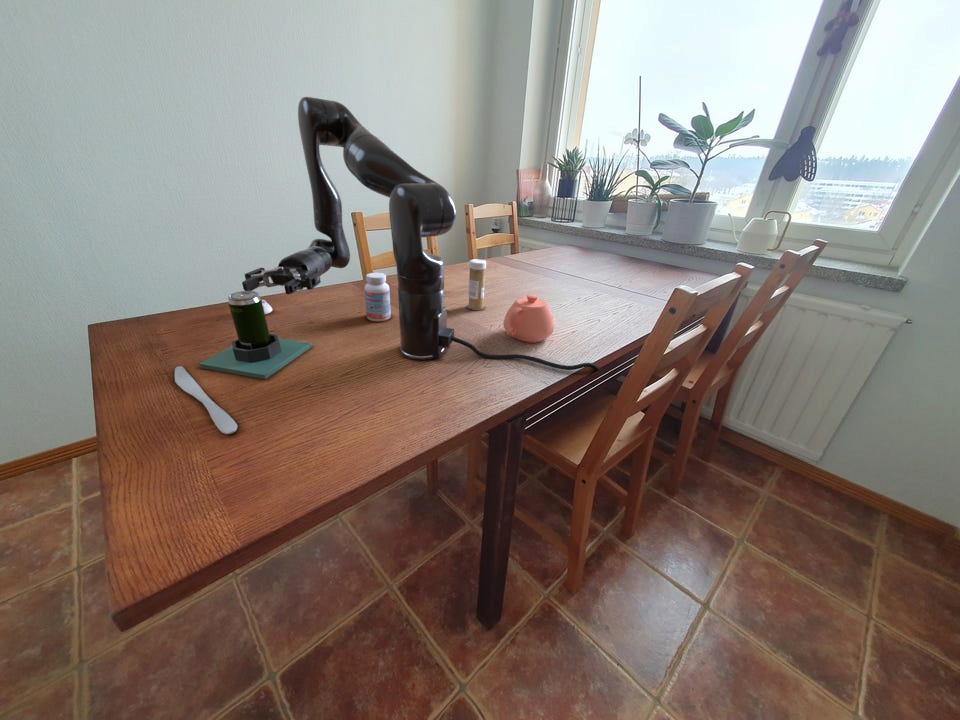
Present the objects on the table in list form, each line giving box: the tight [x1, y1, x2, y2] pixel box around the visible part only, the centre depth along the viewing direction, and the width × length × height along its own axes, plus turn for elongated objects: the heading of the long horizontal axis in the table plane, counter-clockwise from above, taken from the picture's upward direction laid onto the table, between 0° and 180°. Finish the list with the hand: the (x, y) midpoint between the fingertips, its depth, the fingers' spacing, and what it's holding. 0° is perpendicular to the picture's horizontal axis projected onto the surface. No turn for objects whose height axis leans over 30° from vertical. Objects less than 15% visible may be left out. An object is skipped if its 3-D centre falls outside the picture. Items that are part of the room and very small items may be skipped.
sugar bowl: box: [502, 294, 555, 344], centre depth 89 cm, size 12×14×10 cm
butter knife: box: [174, 365, 238, 435], centre depth 62 cm, size 1×27×3 cm
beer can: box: [227, 290, 272, 350], centre depth 72 cm, size 5×5×12 cm
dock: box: [198, 333, 312, 380], centre depth 75 cm, size 14×14×4 cm
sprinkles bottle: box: [467, 258, 487, 311], centre depth 104 cm, size 5×5×13 cm
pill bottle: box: [363, 272, 392, 322], centre depth 94 cm, size 6×6×11 cm
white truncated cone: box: [261, 299, 273, 315], centre depth 95 cm, size 5×3×5 cm
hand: (265, 288), depth 76 cm, fingers open, 8 cm apart
